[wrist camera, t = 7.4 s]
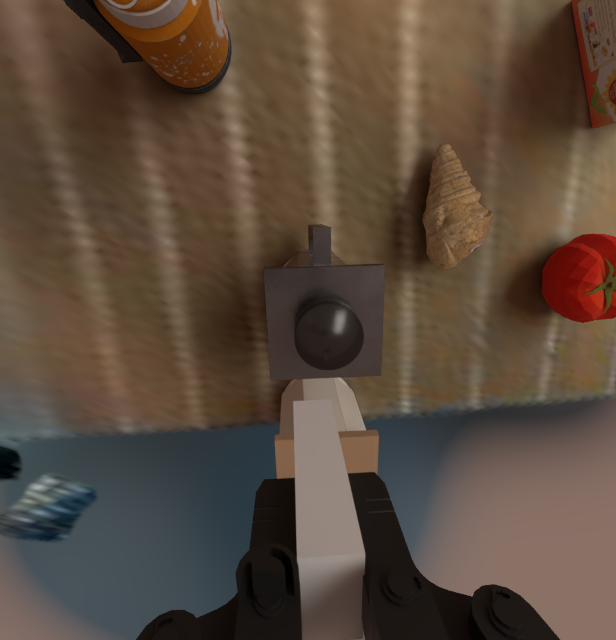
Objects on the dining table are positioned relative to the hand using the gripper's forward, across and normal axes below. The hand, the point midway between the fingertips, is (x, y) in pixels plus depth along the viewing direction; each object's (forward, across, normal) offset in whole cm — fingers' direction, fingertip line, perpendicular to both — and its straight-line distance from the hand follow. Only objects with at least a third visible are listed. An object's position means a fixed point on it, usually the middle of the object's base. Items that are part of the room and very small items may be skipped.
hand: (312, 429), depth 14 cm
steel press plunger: (+30, +2, -1) cm, 30 cm away
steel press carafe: (+33, +2, 0) cm, 33 cm away
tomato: (+33, +36, 0) cm, 49 cm away
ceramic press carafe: (+33, +2, -20) cm, 39 cm away
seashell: (+33, +18, +9) cm, 39 cm away
